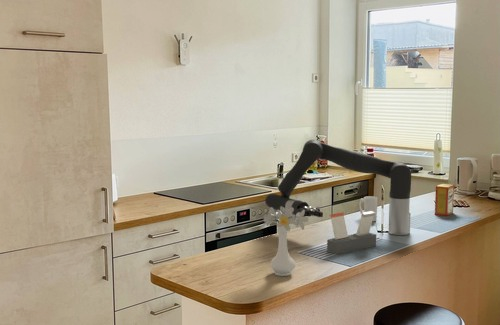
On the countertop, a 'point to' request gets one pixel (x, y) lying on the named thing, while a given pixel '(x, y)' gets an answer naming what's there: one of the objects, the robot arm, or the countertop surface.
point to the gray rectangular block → (351, 243)
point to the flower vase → (283, 237)
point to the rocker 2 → (365, 223)
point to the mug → (369, 205)
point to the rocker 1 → (339, 225)
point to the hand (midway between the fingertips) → (321, 214)
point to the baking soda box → (444, 199)
